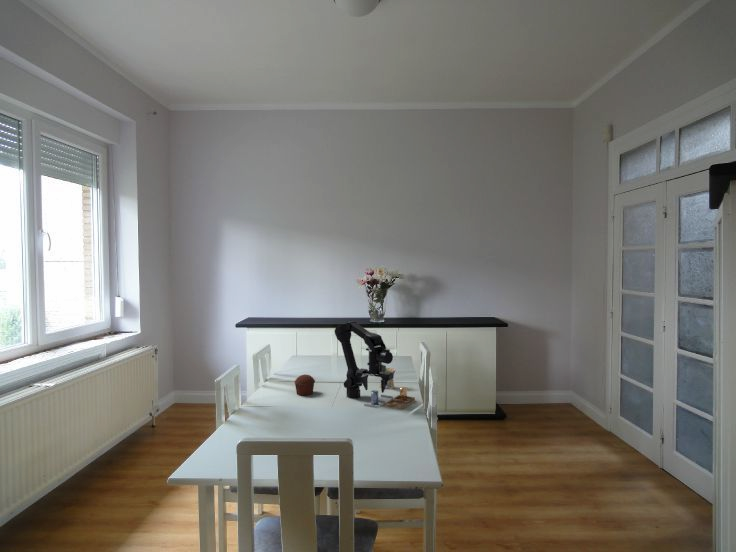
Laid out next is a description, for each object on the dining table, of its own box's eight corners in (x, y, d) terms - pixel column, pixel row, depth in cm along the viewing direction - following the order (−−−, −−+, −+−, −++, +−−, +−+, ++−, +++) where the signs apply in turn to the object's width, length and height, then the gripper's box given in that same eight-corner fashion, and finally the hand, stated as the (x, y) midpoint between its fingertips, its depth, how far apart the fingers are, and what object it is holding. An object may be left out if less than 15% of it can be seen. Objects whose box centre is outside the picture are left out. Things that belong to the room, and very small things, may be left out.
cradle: (364, 407, 225) (363, 403, 225) (381, 397, 241) (381, 394, 241) (376, 409, 222) (376, 406, 222) (393, 399, 237) (393, 396, 237)
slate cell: (369, 404, 227) (369, 390, 227) (373, 402, 230) (373, 389, 230) (376, 405, 225) (376, 391, 225) (379, 403, 228) (379, 390, 228)
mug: (378, 386, 262) (378, 368, 262) (394, 385, 263) (394, 367, 263) (380, 392, 250) (380, 373, 250) (397, 391, 251) (397, 372, 251)
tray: (384, 408, 224) (384, 403, 224) (399, 399, 238) (399, 394, 238) (401, 411, 219) (401, 406, 219) (415, 401, 233) (414, 397, 233)
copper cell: (398, 401, 231) (398, 387, 231) (401, 399, 234) (401, 385, 234) (405, 402, 229) (405, 388, 229) (408, 400, 233) (408, 386, 232)
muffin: (311, 397, 243) (310, 378, 242) (291, 396, 245) (291, 377, 245) (317, 390, 254) (317, 373, 254) (299, 389, 257) (298, 372, 256)
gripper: (398, 359, 229) (398, 389, 230) (366, 355, 238) (366, 384, 239) (388, 363, 219) (388, 395, 220) (355, 359, 229) (355, 390, 229)
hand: (374, 391), depth 227 cm, fingers open, 9 cm apart
